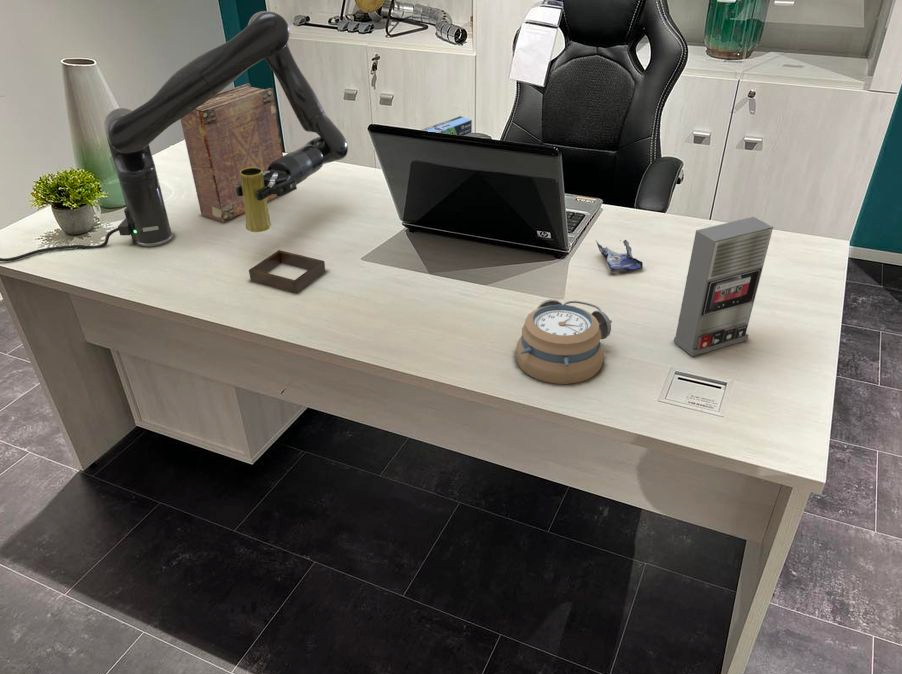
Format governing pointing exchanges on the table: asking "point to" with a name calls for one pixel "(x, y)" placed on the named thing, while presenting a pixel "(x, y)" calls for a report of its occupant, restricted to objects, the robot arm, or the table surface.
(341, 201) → the table surface
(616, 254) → the snack package
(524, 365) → the alarm clock
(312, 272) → the open brown wooden box
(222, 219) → the book
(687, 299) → the cassette tape recorder
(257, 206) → the vase
